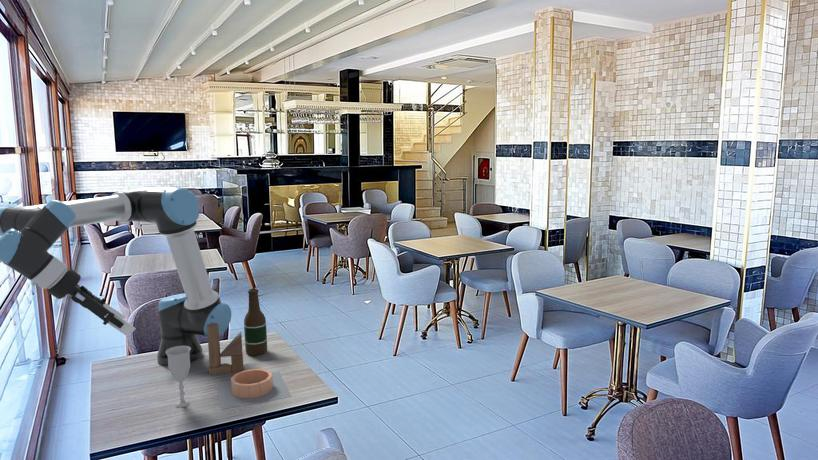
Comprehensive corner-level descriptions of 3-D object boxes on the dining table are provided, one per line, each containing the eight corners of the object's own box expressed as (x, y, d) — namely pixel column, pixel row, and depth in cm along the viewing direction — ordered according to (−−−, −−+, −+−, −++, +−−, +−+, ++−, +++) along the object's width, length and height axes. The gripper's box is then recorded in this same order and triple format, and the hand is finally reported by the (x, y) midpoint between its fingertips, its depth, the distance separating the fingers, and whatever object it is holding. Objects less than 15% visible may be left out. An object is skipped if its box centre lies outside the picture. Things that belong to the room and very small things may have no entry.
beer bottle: (245, 357, 201) (241, 292, 198) (246, 349, 209) (242, 287, 205) (267, 355, 203) (264, 291, 200) (267, 347, 211) (264, 285, 207)
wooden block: (243, 375, 186) (240, 323, 183) (209, 379, 183) (205, 326, 180) (243, 371, 189) (240, 320, 186) (210, 375, 186) (206, 323, 184)
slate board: (216, 386, 177) (215, 382, 177) (279, 376, 185) (279, 371, 185) (221, 414, 159) (220, 409, 159) (291, 401, 167) (291, 396, 166)
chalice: (171, 405, 165) (166, 347, 162) (195, 401, 167) (191, 344, 164) (169, 416, 158) (164, 356, 155) (195, 412, 160) (190, 353, 157)
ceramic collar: (230, 385, 175) (229, 372, 174) (269, 378, 179) (268, 366, 179) (234, 401, 164) (233, 388, 163) (275, 393, 168) (274, 381, 168)
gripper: (40, 281, 148) (107, 326, 159) (49, 300, 129) (125, 350, 139) (62, 259, 151) (127, 305, 162) (74, 275, 131) (147, 325, 142)
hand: (126, 326), depth 151 cm, fingers open, 13 cm apart
